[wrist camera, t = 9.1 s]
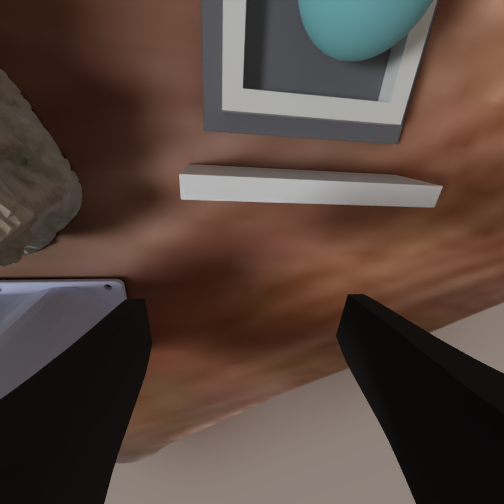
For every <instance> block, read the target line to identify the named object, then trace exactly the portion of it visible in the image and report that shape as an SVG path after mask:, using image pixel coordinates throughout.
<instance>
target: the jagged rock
mask: <svg viewBox="0 0 504 504" xmlns="http://www.w3.org/2000/svg"><path fill="white" fill-rule="evenodd" d="M31 108H32V107H31V105H30V104H29V102H28V101H27V100H26V99H24V98H23V95H21V91H20V90H19V89H18V88H17V86H16V85H15V84H14V83H13V82H12V81H11V80H10V79H9V78H8V76H7V74H6V73H5V72H4V71H3V70H2V69H0V265H1V266H6V265H9V264H12V263H17V262H19V261H20V260H21V259H22V257H21V256H22V255H27V254H31V253H33V252H36V251H38V250H40V249H42V248H43V247H44V246H46V245H49V244H50V241H52V240H53V238H54V237H55V236H56V232H58V231H60V230H61V229H63V228H64V227H65V226H66V225H67V224H69V221H70V220H72V219H73V218H74V216H76V215H77V212H78V211H79V209H80V207H81V205H82V204H81V202H82V187H81V184H80V183H79V179H78V177H77V175H76V173H75V172H74V171H72V170H71V168H70V163H69V161H68V159H64V157H63V156H62V155H61V150H60V149H59V148H58V146H57V144H56V143H55V141H54V140H53V138H52V136H51V135H50V133H49V132H48V131H47V130H46V129H45V128H44V127H43V125H42V123H41V122H40V121H39V119H38V117H37V115H36V114H35V113H34V112H33V111H32V110H31Z"/></svg>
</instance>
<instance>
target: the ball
mask: <svg viewBox="0 0 504 504" xmlns="http://www.w3.org/2000/svg"><path fill="white" fill-rule="evenodd" d="M432 2H433V0H298V5H299V10H300V15H301V19H302V22H303V25H304V27H305V30H306V32H307V34H308V36H309V38H310V39H311V40H312V42H313V43H314V44H315V46H316V47H317V48H318V49H319V50H321V51H322V52H323V53H324V54H326V55H328V56H329V57H331V58H334V59H337V60H340V61H350V62H353V61H361V60H365V59H369V58H372V57H374V56H377V55H379V54H381V53H383V52H385V51H386V50H388V49H389V48H391V47H392V46H394V45H395V44H396V43H398V42H399V41H400V40H401V39H402V38H403V37H405V36H406V35H407V34H408V33H409V32H410V31H411V30H412V29H413V27H414V26H415V25H416V24H417V23H418V22H419V21H420V19H421V18H422V17H423V15H424V14H425V12H426V11H427V10H428V8H429V7H430V5H431V4H432Z"/></svg>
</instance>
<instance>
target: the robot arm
mask: <svg viewBox="0 0 504 504" xmlns="http://www.w3.org/2000/svg"><path fill="white" fill-rule="evenodd" d="M106 284H108V285H110V286H111V287H108V286H107V285H106ZM336 337H337V339H338V342H339V345H340V347H341V350H342V353H343V355H344V357H345V360H346V362H347V364H348V366H349V368H350V370H351V372H352V374H353V375H354V377H355V379H356V381H357V383H358V385H359V386H360V388H361V390H362V392H363V394H364V396H365V397H366V399H367V401H368V403H369V405H370V406H371V408H372V410H373V412H374V414H375V416H376V417H377V419H378V421H379V423H380V425H381V427H382V428H383V431H384V433H385V435H386V436H387V438H388V440H389V443H390V445H391V447H392V449H393V451H394V454H395V456H396V458H397V460H398V462H399V465H400V467H401V469H402V472H403V474H404V476H405V478H406V481H407V483H408V486H409V488H410V490H411V493H412V495H413V498H414V500H415V502H416V504H504V373H501V372H500V371H498V370H495V369H494V368H492V367H489V366H487V365H486V364H484V363H482V362H480V361H478V360H476V359H474V358H472V357H470V356H469V355H467V354H465V353H463V352H461V351H459V350H458V349H456V348H454V347H452V346H451V345H449V344H447V343H445V342H444V341H442V340H440V339H438V338H436V337H435V336H433V335H432V334H430V333H428V332H426V331H425V330H423V329H421V328H420V327H418V326H416V325H415V324H413V323H412V322H410V321H408V320H407V319H405V318H403V317H402V316H400V315H398V314H397V313H395V312H394V311H392V310H390V309H389V308H387V307H385V306H384V305H382V304H380V303H379V302H377V301H375V300H373V299H372V298H370V297H368V296H366V295H364V294H348V296H347V300H346V303H345V307H344V310H343V314H342V317H341V321H340V324H339V327H338V331H337V334H336ZM151 347H152V340H151V334H150V327H149V321H148V315H147V308H146V302H145V299H127V295H126V290H125V285H124V283H123V281H121V280H119V279H50V280H0V504H104V502H105V498H106V494H107V490H108V487H109V483H110V479H111V475H112V472H113V468H114V465H115V462H116V459H117V456H118V452H119V450H120V447H121V444H122V441H123V438H124V435H125V432H126V430H127V427H128V424H129V421H130V418H131V415H132V412H133V409H134V407H135V404H136V401H137V398H138V395H139V392H140V389H141V386H142V383H143V380H144V377H145V374H146V370H147V366H148V361H149V357H150V352H151Z"/></svg>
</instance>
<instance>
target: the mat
mask: <svg viewBox="0 0 504 504" xmlns="http://www.w3.org/2000/svg"><path fill="white" fill-rule="evenodd" d="M439 2H440V0H433V2H432V4H431V5H430V7H429V8H428V10H427V11H426V12H425V14H424V15H423V17H422V18H421V19H420V21H419V22H418V23H417V24H416V25H415V26H414V27H413V29H412V30H411V31H410V32H409V33H408V34H407V35H406V36H405V37H403V38H402V39H401V40H400V41H399V42H398V43H396V44H395V45H394V46H392V47H391V48H389V49H388V50H386V51H385V52H383V53H381V54H379V55H377V56H374V57H372V58H369V59H365V60H361V61H353V62H350V61H340V60H337V59H334V58H331V57H329V56H328V55H326V54H324V53H323V52H322V51H321V50H319V49H318V48H317V47H316V46H315V44H314V43H313V42H312V40H311V39H310V38H309V36H308V34H307V32H306V30H305V27H304V25H303V22H302V19H301V15H300V10H299V5H298V0H201V9H202V57H203V106H204V131H216V132H230V133H244V134H258V135H273V136H287V137H301V138H315V139H329V140H343V141H358V142H372V143H386V144H397V143H398V140H399V136H400V133H401V130H402V126H403V123H404V120H405V116H406V113H407V109H408V106H409V103H410V99H411V96H412V93H413V89H414V86H415V83H416V79H417V76H418V72H419V69H420V66H421V62H422V59H423V56H424V52H425V49H426V46H427V42H428V39H429V35H430V32H431V29H432V25H433V22H434V19H435V15H436V12H437V9H438V5H439Z"/></svg>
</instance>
